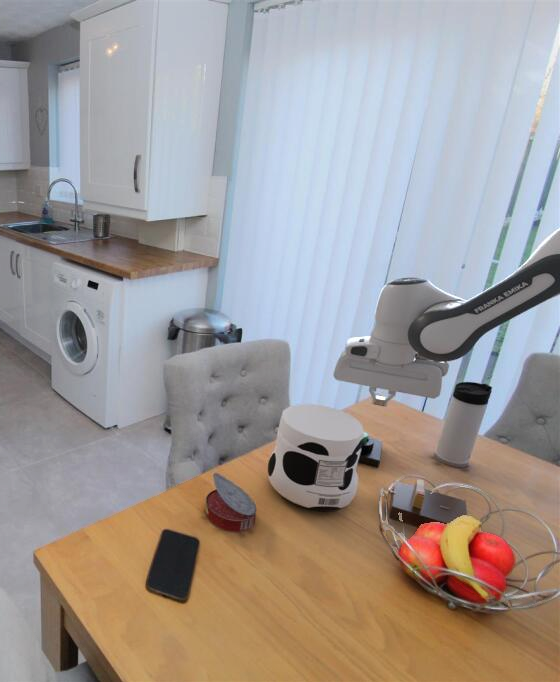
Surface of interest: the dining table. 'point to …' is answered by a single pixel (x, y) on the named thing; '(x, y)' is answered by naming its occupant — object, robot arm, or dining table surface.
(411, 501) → the lock plate
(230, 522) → the canned food
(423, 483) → the lock knob
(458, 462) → the travel mug
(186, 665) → the dining table surface
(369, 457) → the alarm box
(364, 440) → the alarm button
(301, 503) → the milk container
